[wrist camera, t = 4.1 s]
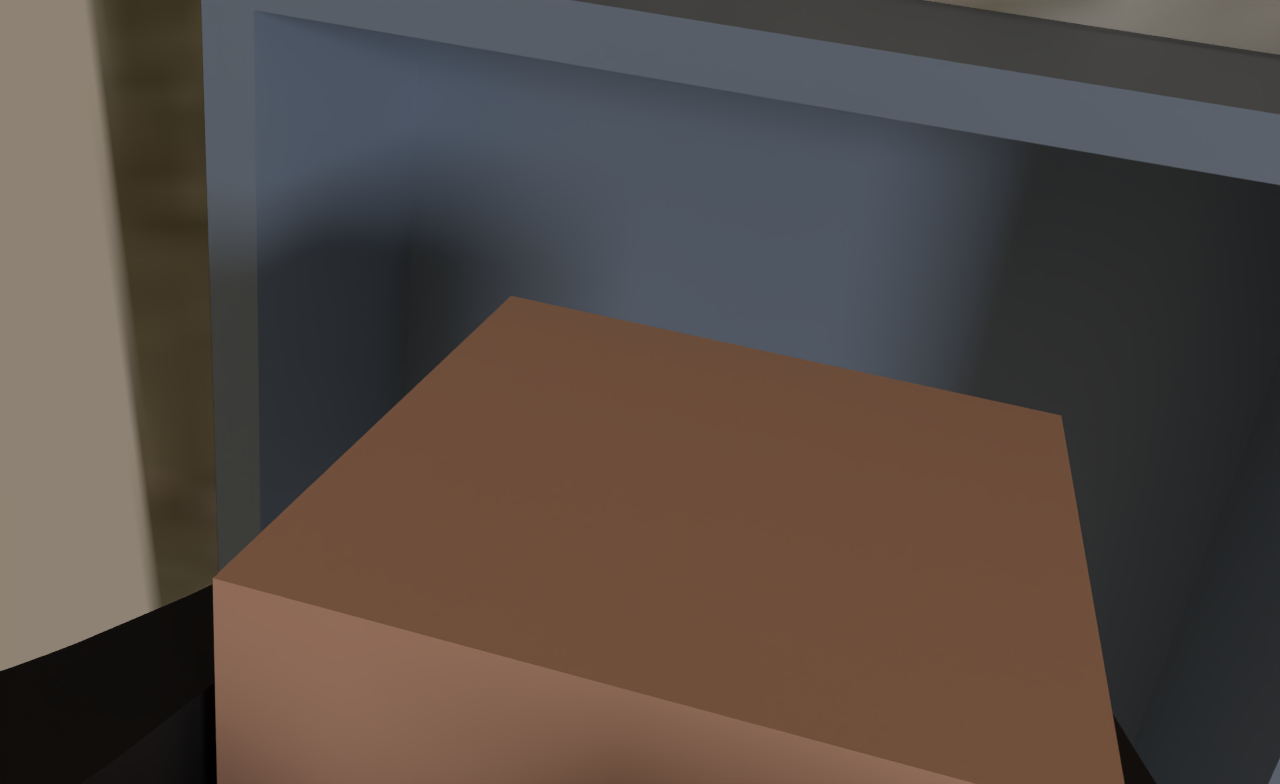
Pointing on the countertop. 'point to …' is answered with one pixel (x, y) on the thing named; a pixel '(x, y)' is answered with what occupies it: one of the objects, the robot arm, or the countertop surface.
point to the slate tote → (792, 258)
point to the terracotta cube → (668, 580)
